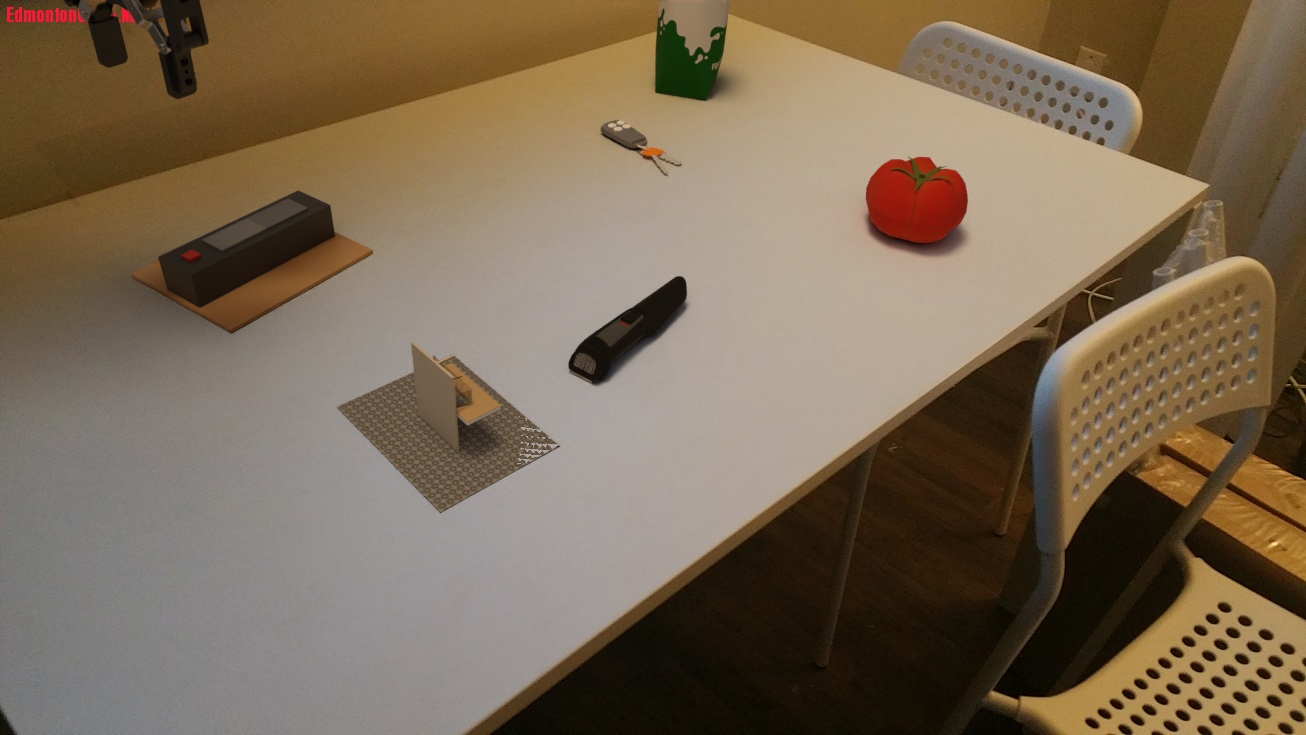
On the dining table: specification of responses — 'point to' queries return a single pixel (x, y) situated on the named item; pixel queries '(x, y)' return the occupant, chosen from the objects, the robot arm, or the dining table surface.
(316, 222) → the remote
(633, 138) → the key chain
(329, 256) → the cork mat
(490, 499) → the dining table surface
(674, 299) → the electric trimmer
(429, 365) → the architectural model
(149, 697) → the dining table surface
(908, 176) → the tomato
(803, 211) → the dining table surface
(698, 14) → the milk carton
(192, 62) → the robot arm
